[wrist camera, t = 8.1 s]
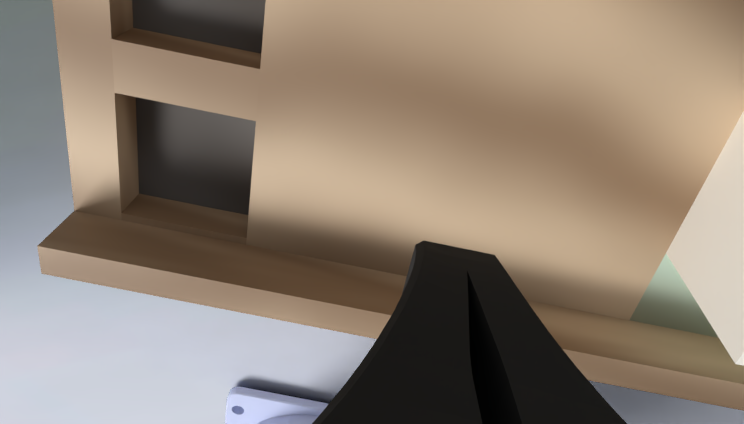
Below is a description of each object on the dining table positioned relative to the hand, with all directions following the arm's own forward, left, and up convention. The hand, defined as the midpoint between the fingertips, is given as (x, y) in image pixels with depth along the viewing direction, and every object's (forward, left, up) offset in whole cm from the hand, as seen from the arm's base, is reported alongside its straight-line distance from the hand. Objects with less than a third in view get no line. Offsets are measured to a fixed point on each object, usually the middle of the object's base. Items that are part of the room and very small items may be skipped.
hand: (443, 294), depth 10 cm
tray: (0, -1, -8) cm, 9 cm away
